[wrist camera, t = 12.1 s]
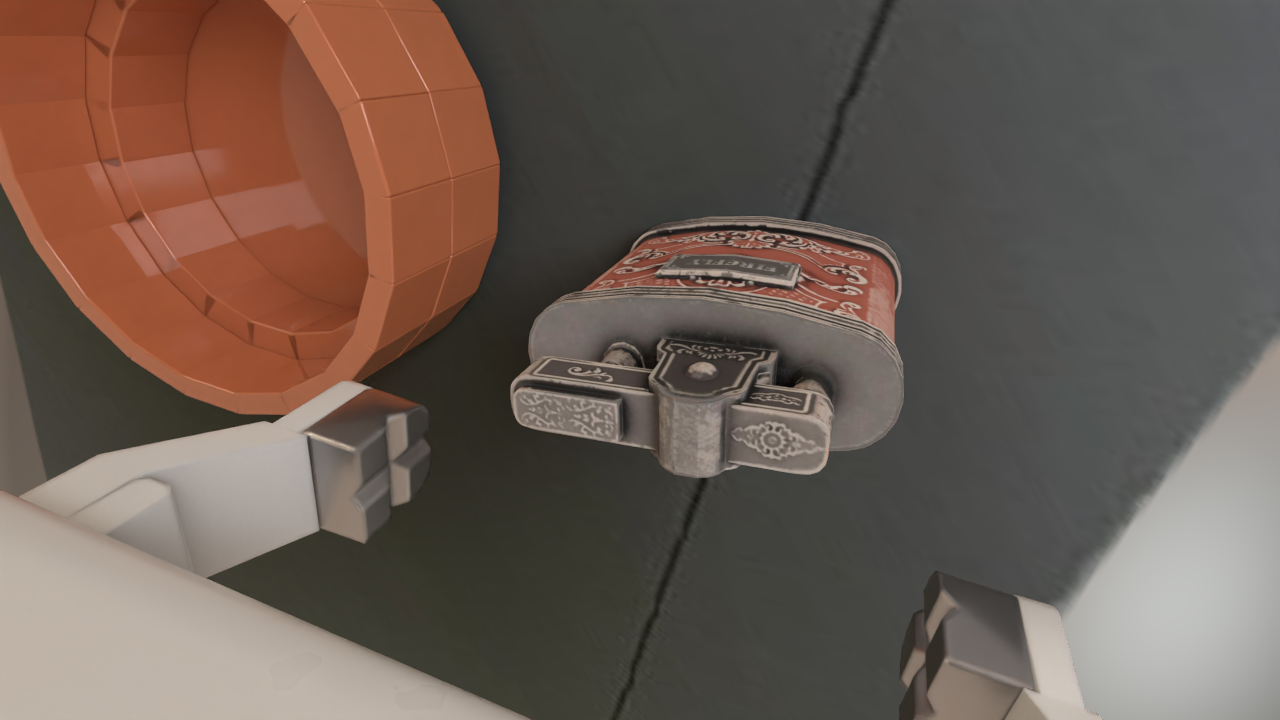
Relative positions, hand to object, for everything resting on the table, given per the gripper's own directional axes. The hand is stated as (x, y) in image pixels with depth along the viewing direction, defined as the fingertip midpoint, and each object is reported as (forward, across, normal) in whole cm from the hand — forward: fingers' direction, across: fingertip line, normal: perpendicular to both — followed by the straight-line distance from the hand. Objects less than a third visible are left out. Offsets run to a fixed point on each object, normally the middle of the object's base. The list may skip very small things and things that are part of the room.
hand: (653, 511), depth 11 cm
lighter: (+12, 0, 0) cm, 12 cm away
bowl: (+12, +16, -1) cm, 20 cm away
